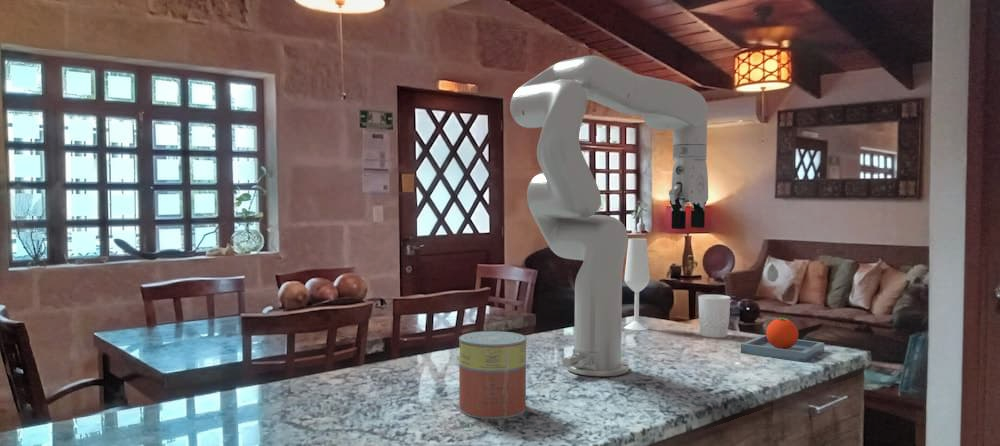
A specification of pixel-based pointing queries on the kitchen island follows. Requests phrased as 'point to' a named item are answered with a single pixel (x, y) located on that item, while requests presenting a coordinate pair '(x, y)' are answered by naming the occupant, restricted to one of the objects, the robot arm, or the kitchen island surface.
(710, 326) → the white cup
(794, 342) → the clementine
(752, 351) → the dish
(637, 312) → the champagne flute
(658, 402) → the kitchen island surface
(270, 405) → the kitchen island surface
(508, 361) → the canned food
